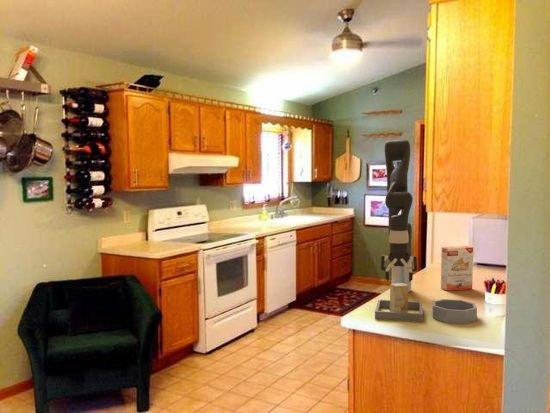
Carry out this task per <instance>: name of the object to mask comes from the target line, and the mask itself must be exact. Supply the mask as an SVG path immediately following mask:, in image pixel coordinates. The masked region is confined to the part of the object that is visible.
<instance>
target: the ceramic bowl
mask: <svg viewBox="0 0 550 413" xmlns="http://www.w3.org/2000/svg"><path fill="white" fill-rule="evenodd" d="M431 307H432V311H431V312H432V313H431V314H432V318H433V319H434V320H436V321H440V322H444V323H446V324H447V323H448V324H458V325H459V324H460V325H465V324H471V323H474V322H477V321H478V307H477V305H476V303H474V302H470V301H467V300H462V299H450V298H449V299H448V298H443V299H442V298H441V299H438V300H434V301H432V306H431Z"/></svg>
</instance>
